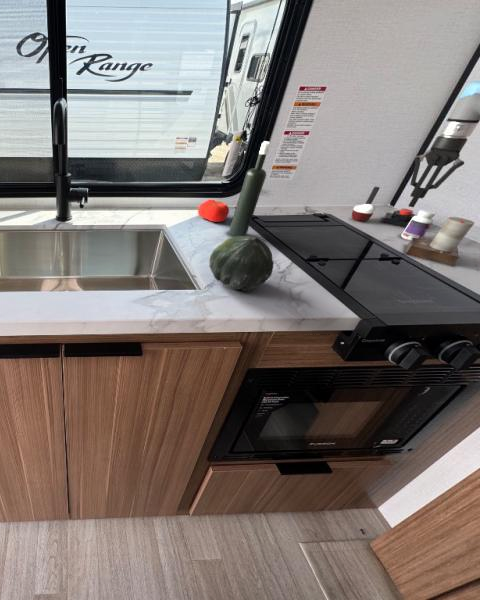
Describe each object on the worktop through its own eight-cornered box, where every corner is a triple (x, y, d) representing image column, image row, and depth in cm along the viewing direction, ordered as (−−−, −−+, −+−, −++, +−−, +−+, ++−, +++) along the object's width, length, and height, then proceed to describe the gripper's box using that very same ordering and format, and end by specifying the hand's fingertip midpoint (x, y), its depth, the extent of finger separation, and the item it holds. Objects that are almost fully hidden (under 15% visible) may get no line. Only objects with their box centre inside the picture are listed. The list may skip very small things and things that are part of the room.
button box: (416, 224, 125) (422, 214, 123) (415, 230, 120) (422, 219, 118) (383, 217, 130) (389, 207, 128) (381, 222, 126) (387, 212, 123)
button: (410, 214, 123) (413, 210, 122) (410, 217, 121) (413, 212, 120) (398, 212, 125) (401, 207, 124) (398, 214, 123) (400, 210, 122)
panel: (455, 256, 103) (462, 247, 101) (456, 267, 97) (463, 257, 95) (407, 244, 109) (413, 236, 108) (405, 254, 103) (411, 245, 102)
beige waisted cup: (429, 242, 104) (449, 214, 99) (453, 247, 101) (474, 219, 96) (429, 247, 101) (449, 219, 95) (453, 253, 98) (475, 224, 92)
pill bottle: (421, 242, 111) (440, 215, 105) (402, 239, 113) (419, 212, 108) (418, 237, 115) (436, 210, 109) (399, 233, 117) (416, 207, 111)
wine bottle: (249, 236, 113) (281, 142, 95) (236, 238, 111) (266, 143, 94) (237, 230, 117) (266, 139, 100) (224, 232, 115) (252, 140, 98)
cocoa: (359, 224, 124) (376, 193, 117) (343, 218, 128) (358, 188, 122) (375, 221, 127) (392, 190, 120) (358, 216, 131) (375, 186, 125)
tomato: (213, 226, 120) (218, 209, 116) (192, 216, 128) (195, 200, 124) (231, 221, 124) (236, 204, 120) (209, 212, 132) (213, 196, 128)
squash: (231, 244, 95) (227, 216, 82) (283, 264, 86) (288, 237, 74) (203, 283, 94) (195, 261, 82) (253, 308, 86) (253, 287, 74)
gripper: (427, 135, 109) (388, 204, 122) (481, 140, 102) (434, 212, 115) (427, 133, 113) (390, 200, 127) (479, 137, 106) (434, 207, 120)
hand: (411, 206), depth 121 cm, fingers closed
